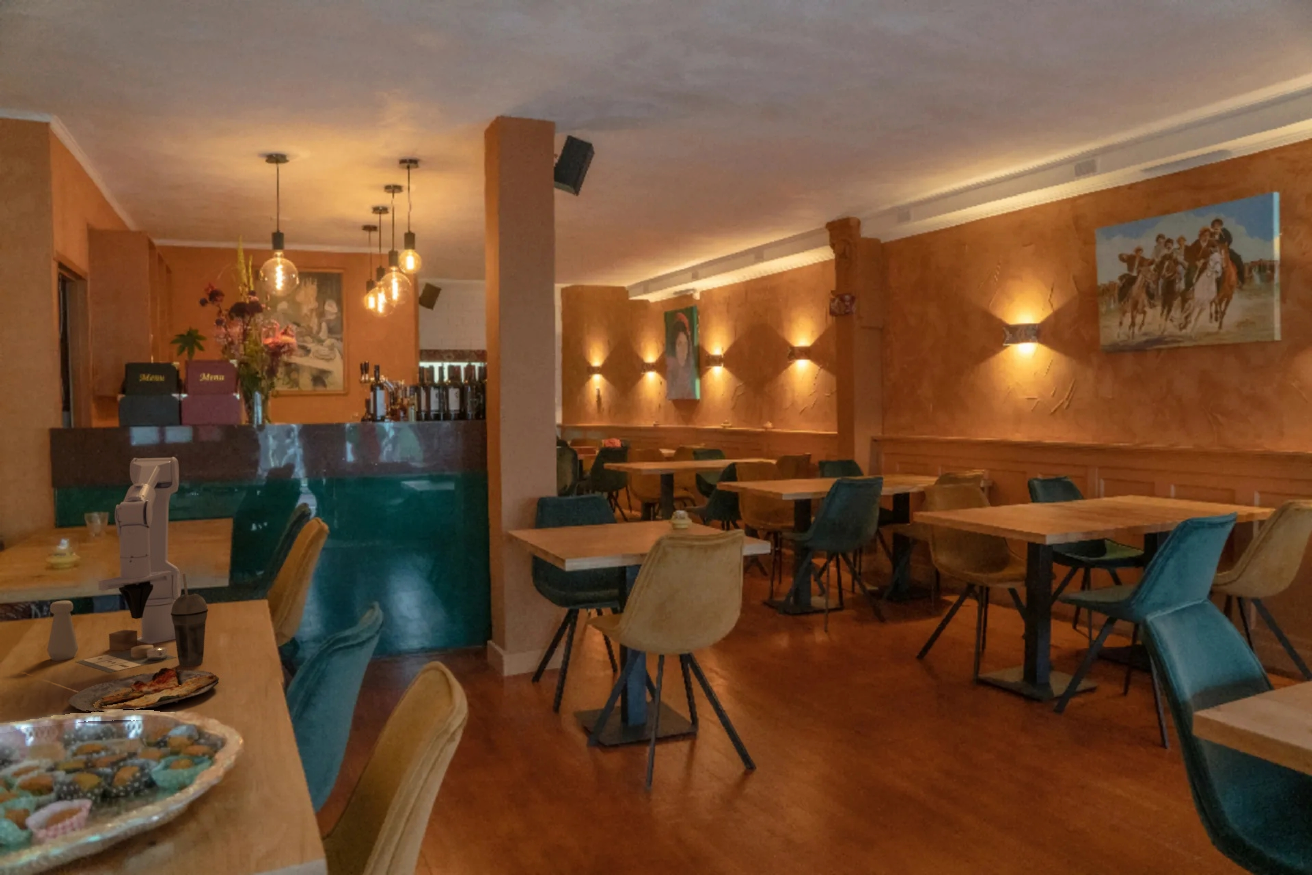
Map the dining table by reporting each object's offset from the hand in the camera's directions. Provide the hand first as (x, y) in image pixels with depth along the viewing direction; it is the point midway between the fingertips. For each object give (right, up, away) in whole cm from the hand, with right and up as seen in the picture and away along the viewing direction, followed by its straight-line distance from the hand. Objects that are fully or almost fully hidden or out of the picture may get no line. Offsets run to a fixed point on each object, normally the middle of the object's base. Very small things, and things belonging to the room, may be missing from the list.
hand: (137, 617), depth 201 cm
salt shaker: (-19, -10, +4) cm, 22 cm away
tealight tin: (+3, -9, +2) cm, 10 cm away
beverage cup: (+13, -10, -3) cm, 17 cm away
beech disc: (-1, -10, +5) cm, 11 cm away
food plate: (+16, -11, -26) cm, 32 cm away
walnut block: (-10, -10, +13) cm, 19 cm away
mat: (-3, -10, +2) cm, 11 cm away
